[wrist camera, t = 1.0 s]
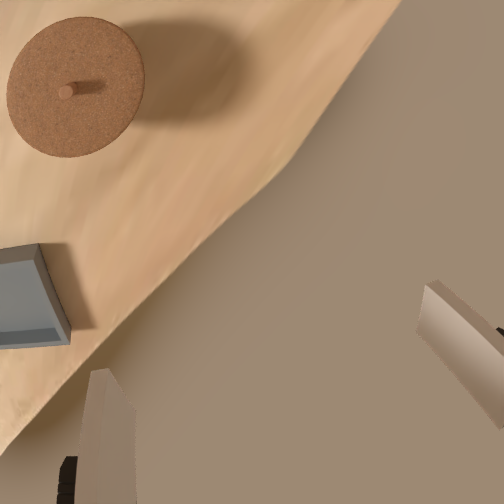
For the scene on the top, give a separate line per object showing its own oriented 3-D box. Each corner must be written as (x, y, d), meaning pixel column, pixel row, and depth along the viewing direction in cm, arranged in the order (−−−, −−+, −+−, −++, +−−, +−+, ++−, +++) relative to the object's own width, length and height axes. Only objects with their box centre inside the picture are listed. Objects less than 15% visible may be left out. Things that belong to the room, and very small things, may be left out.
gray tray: (-62, 260, 26) (-70, 274, 24) (38, 243, 31) (33, 259, 29) (-19, 335, 35) (-23, 350, 33) (71, 328, 40) (70, 344, 38)
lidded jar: (159, 31, 23) (166, 27, 16) (128, 137, 28) (125, 174, 21) (50, 17, 18) (14, 12, 11) (28, 125, 23) (-8, 160, 17)
